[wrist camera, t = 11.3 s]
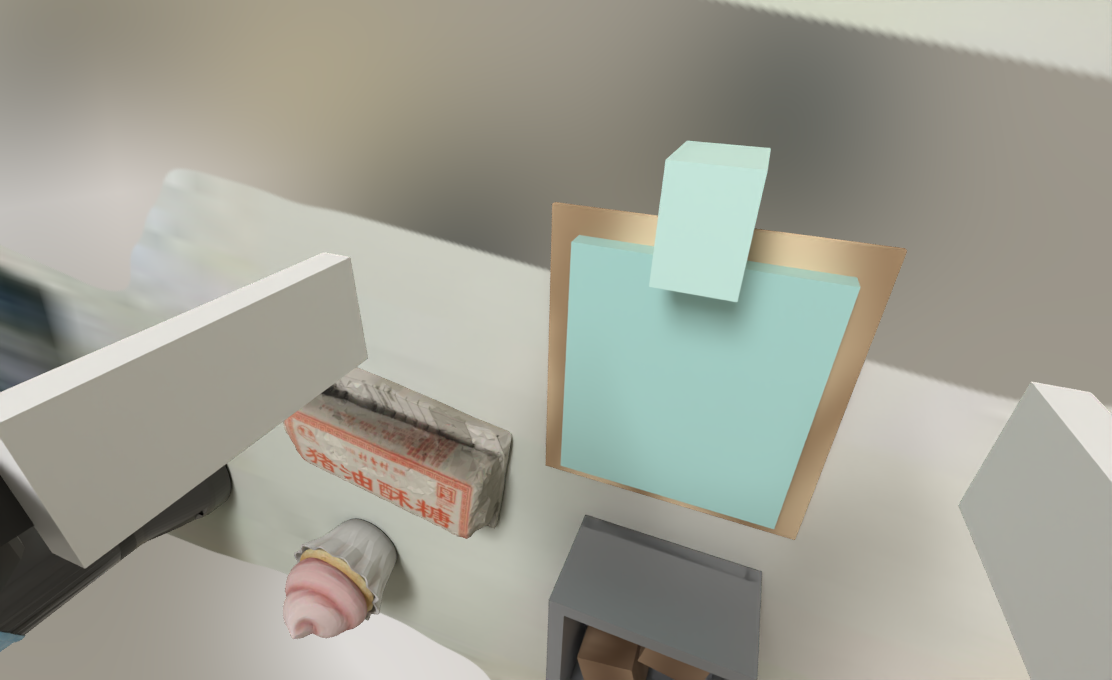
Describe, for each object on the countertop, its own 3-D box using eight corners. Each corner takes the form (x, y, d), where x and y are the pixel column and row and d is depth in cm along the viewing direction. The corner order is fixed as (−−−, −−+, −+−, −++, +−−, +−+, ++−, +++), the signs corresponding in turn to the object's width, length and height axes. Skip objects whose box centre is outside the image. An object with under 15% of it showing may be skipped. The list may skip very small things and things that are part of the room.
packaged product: (484, 473, 32) (472, 567, 37) (517, 426, 36) (502, 518, 41) (257, 374, 36) (275, 472, 41) (309, 342, 40) (320, 435, 45)
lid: (566, 453, 34) (537, 508, 30) (584, 131, 24) (544, 147, 20) (774, 513, 30) (772, 585, 26) (898, 159, 20) (927, 186, 16)
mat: (547, 461, 36) (545, 465, 35) (555, 202, 27) (552, 204, 26) (794, 534, 31) (794, 540, 30) (904, 248, 22) (907, 251, 21)
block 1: (603, 641, 41) (587, 691, 38) (593, 607, 40) (576, 657, 36) (651, 652, 40) (640, 706, 36) (644, 618, 38) (631, 670, 35)
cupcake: (421, 586, 50) (350, 690, 42) (346, 562, 53) (267, 653, 45) (400, 517, 46) (317, 618, 38) (320, 495, 49) (228, 583, 41)
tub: (575, 629, 44) (544, 715, 38) (585, 514, 37) (549, 599, 31) (720, 686, 40) (710, 791, 34) (761, 571, 33) (757, 679, 27)
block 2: (650, 607, 37) (637, 660, 34) (667, 576, 35) (655, 630, 32) (704, 633, 36) (696, 690, 33) (724, 603, 34) (718, 661, 31)
